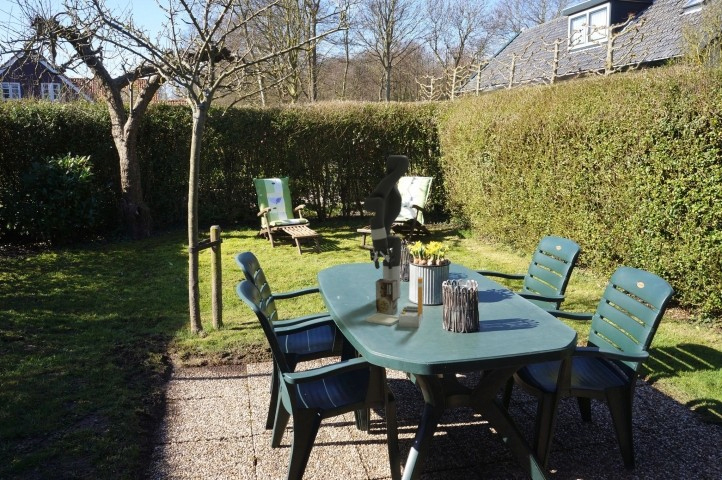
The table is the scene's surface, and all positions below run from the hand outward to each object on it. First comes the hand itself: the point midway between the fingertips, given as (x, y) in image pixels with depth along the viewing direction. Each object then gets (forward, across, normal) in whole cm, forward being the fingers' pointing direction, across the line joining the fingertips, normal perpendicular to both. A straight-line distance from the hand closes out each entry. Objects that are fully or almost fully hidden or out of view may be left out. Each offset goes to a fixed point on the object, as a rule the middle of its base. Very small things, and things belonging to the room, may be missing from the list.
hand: (384, 268), depth 284 cm
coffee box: (+19, -8, +12) cm, 24 cm away
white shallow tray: (+18, -15, +22) cm, 32 cm away
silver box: (+20, -26, +16) cm, 37 cm away
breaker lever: (+16, -32, +16) cm, 39 cm away
